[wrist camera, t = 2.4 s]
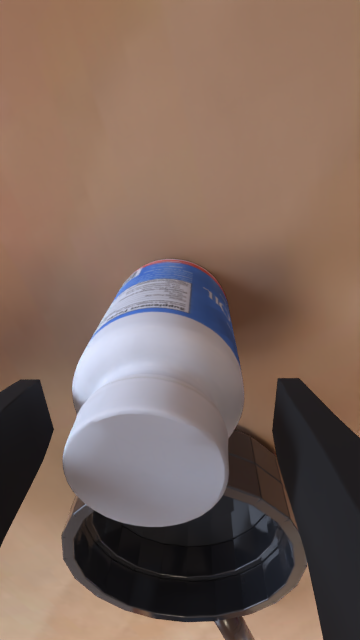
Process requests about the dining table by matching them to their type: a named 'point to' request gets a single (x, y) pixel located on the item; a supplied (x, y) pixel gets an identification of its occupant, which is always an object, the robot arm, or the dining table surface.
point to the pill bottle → (157, 399)
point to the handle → (234, 629)
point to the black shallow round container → (197, 549)
